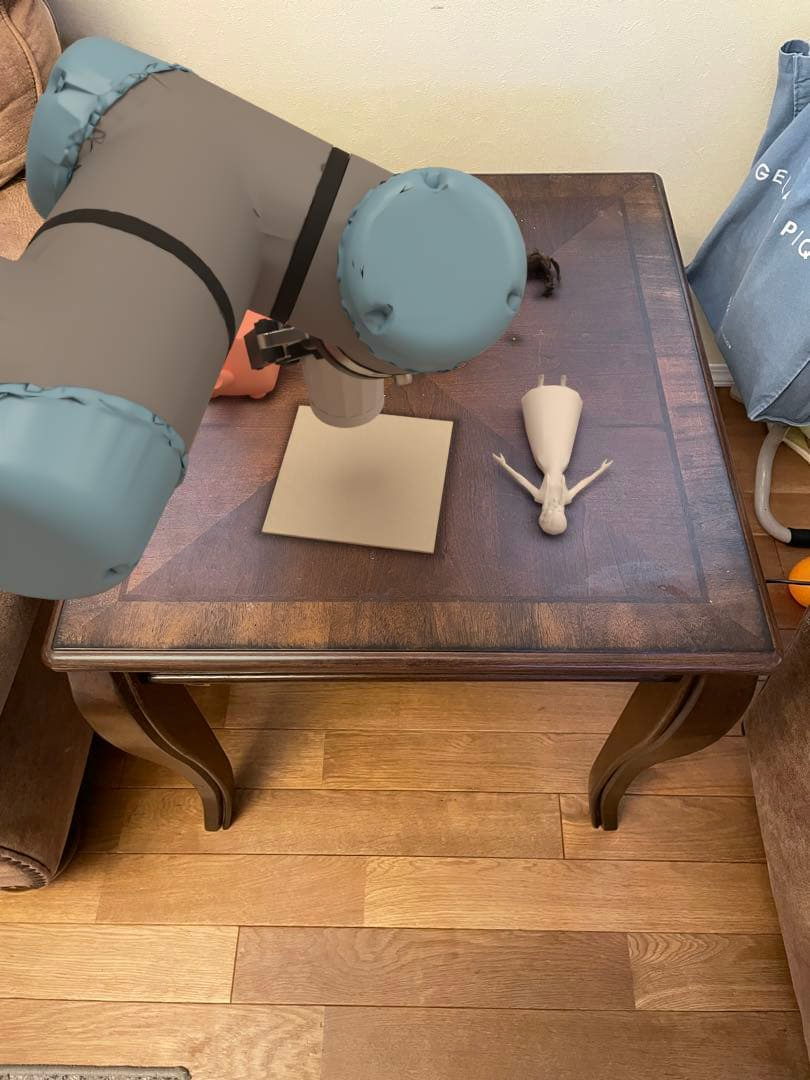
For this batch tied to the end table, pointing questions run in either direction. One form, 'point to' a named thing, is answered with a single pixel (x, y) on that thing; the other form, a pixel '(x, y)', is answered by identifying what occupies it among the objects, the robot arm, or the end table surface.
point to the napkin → (362, 482)
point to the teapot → (245, 367)
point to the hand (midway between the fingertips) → (334, 340)
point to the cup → (341, 395)
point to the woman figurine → (552, 448)
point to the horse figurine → (543, 270)
